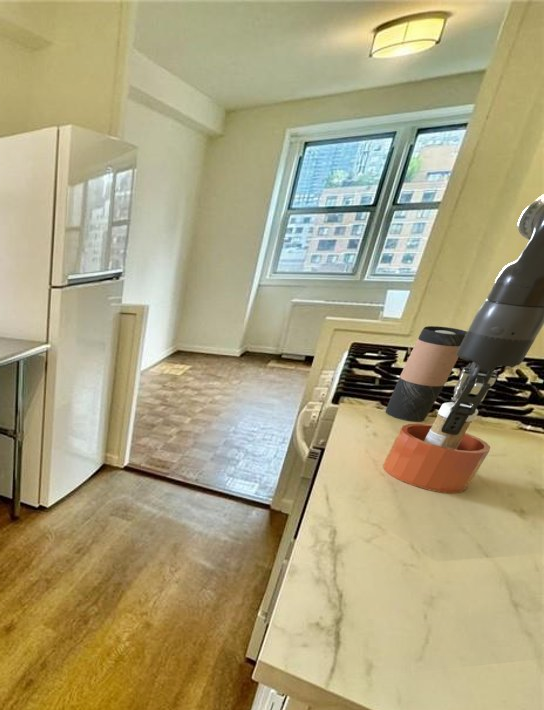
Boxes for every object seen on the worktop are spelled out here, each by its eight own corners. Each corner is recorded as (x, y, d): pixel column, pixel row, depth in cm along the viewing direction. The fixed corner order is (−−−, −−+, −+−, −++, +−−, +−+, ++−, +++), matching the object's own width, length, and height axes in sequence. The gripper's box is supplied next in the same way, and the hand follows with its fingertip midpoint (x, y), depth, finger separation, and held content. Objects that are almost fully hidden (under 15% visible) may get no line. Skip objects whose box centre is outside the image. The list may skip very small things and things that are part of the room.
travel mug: (435, 422, 110) (481, 334, 100) (402, 422, 110) (445, 335, 100) (406, 408, 116) (447, 325, 107) (375, 408, 116) (413, 326, 107)
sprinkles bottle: (446, 482, 86) (485, 413, 80) (414, 476, 88) (450, 409, 82) (434, 470, 90) (471, 403, 84) (404, 465, 92) (438, 399, 85)
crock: (421, 458, 95) (440, 422, 91) (485, 490, 85) (510, 451, 81) (367, 462, 94) (384, 425, 90) (425, 494, 84) (447, 454, 80)
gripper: (540, 345, 70) (479, 449, 78) (533, 327, 79) (479, 422, 87) (468, 336, 74) (417, 435, 82) (469, 320, 83) (423, 410, 91)
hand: (449, 427), depth 85 cm, fingers closed on sprinkles bottle, 4 cm apart
